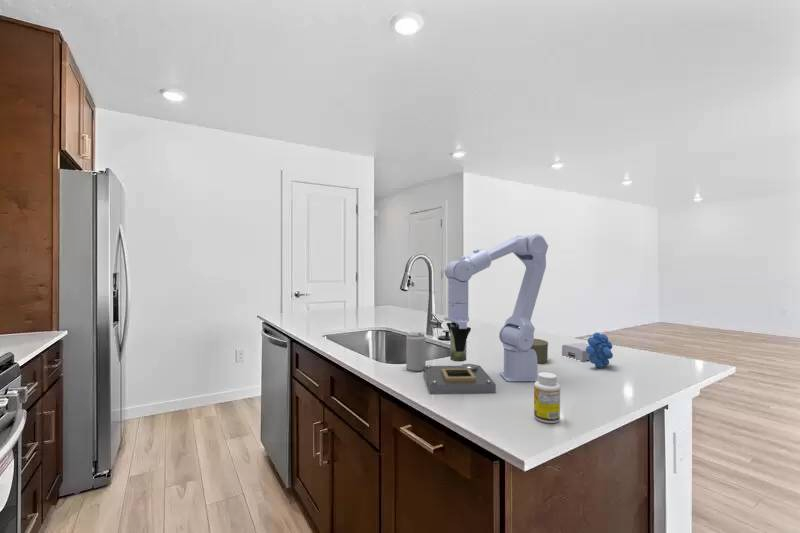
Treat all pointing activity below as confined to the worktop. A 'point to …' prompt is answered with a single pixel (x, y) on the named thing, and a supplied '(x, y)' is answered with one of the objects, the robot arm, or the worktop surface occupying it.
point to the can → (540, 350)
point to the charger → (576, 351)
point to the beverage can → (415, 351)
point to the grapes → (599, 350)
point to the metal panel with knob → (458, 379)
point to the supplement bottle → (547, 398)
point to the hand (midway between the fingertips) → (458, 349)
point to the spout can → (453, 354)
